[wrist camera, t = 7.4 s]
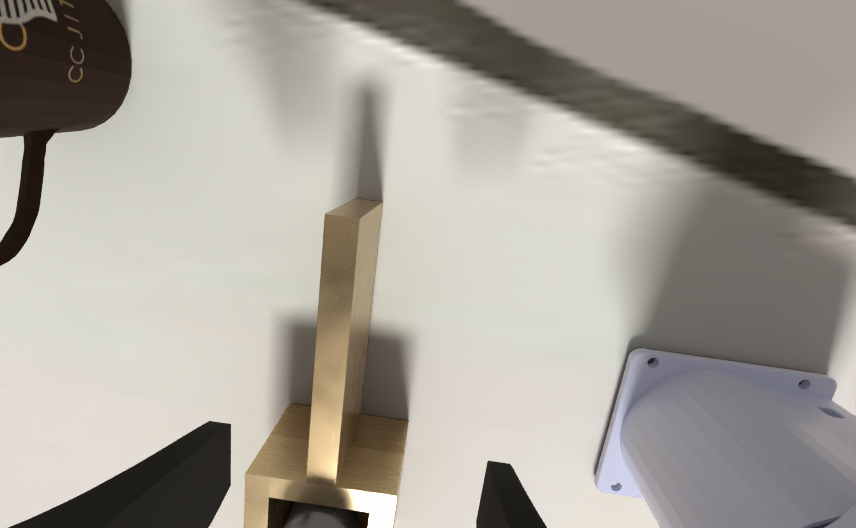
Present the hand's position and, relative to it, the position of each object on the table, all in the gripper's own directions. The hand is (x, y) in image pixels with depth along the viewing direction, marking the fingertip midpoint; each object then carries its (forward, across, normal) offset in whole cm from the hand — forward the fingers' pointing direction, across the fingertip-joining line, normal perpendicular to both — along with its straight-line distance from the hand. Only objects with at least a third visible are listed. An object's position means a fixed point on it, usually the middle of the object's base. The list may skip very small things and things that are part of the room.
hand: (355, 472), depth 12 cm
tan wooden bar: (+9, +2, +8) cm, 12 cm away
